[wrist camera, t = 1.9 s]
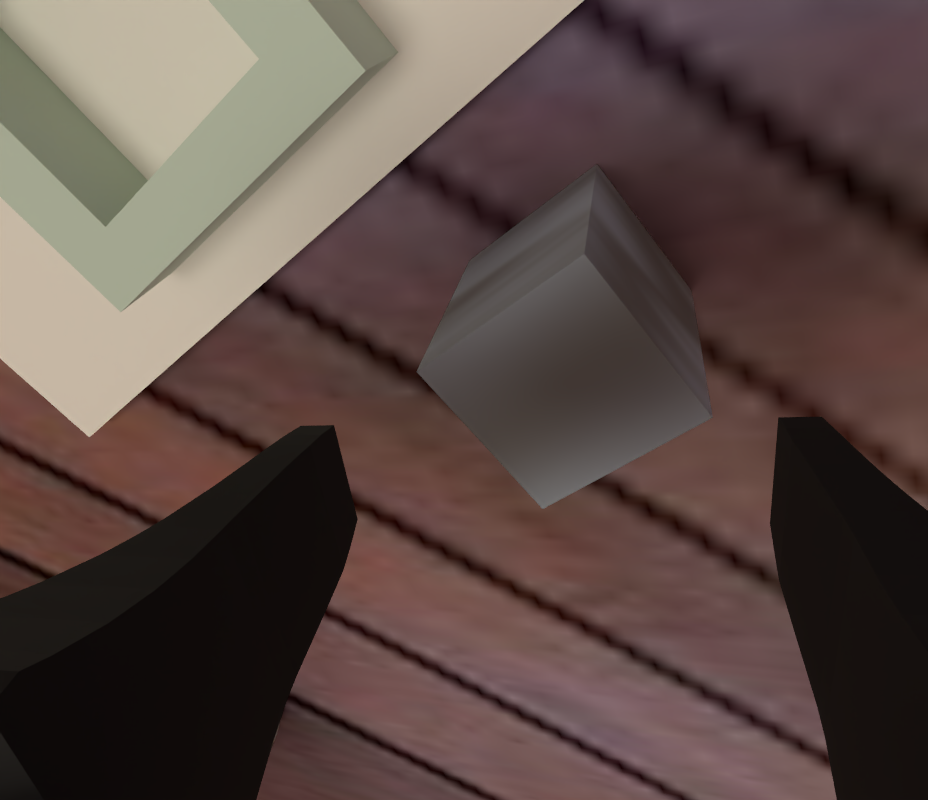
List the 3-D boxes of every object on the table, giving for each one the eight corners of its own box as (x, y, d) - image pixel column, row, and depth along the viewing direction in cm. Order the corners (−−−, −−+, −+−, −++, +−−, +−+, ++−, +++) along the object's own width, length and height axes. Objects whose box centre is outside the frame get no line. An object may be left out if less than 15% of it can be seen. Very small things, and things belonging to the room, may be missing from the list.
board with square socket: (716, -120, 15) (737, -129, 12) (107, 419, 25) (38, 485, 22) (275, -843, 12) (158, -1096, 9) (-230, 117, 22) (-365, 147, 19)
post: (691, 290, 20) (712, 417, 15) (563, 371, 22) (542, 508, 16) (596, 163, 19) (584, 254, 13) (469, 259, 20) (416, 371, 15)
